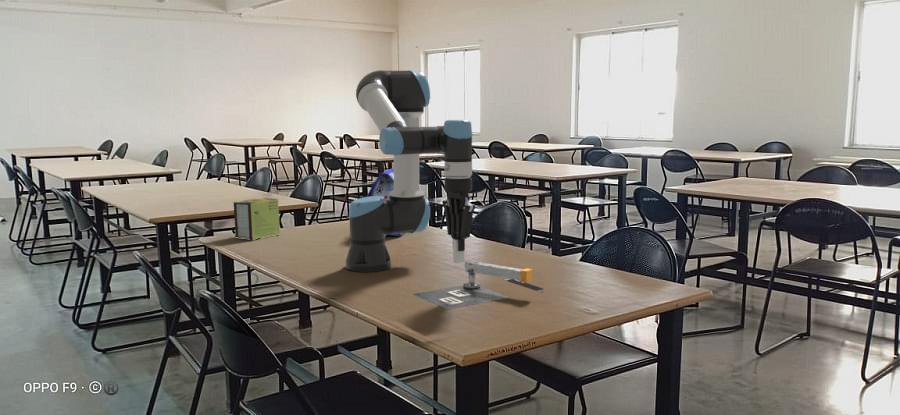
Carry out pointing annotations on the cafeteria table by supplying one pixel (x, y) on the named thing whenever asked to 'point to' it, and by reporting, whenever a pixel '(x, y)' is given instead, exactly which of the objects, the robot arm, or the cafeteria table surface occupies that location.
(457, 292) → the label
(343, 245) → the cafeteria table surface
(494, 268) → the swing arm
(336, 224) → the cafeteria table surface
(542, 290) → the smartphone
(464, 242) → the robot arm
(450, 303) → the label
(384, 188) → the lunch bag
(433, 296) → the board
